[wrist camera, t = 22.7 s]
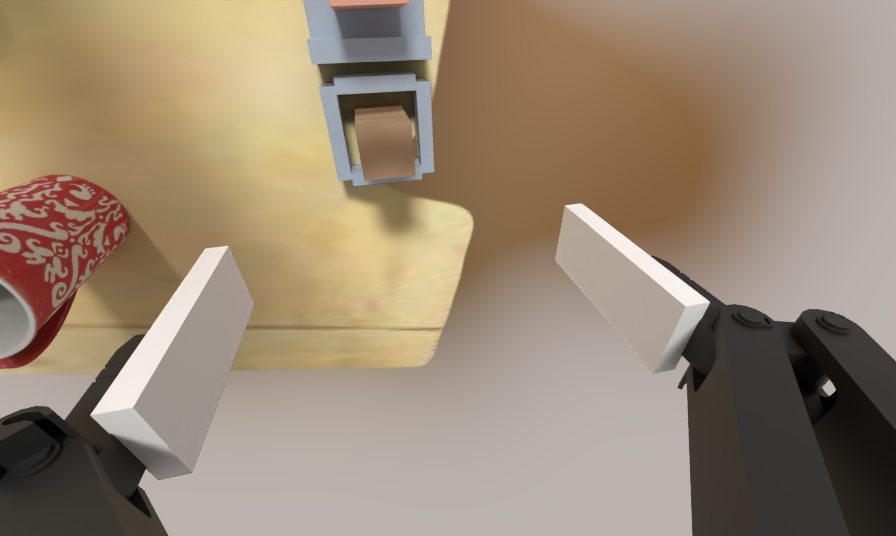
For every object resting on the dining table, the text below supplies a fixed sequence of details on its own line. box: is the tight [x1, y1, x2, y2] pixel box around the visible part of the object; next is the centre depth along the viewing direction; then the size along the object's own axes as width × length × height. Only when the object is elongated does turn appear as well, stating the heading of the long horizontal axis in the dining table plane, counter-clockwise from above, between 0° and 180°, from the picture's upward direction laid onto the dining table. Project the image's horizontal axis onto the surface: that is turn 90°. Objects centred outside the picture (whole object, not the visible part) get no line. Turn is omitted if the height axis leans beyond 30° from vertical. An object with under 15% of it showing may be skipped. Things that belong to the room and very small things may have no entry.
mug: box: [0, 175, 130, 369], centre depth 26 cm, size 13×9×14 cm
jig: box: [303, 0, 434, 186], centre depth 26 cm, size 27×9×4 cm, turn 2°
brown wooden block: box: [355, 103, 416, 181], centre depth 29 cm, size 4×4×8 cm
